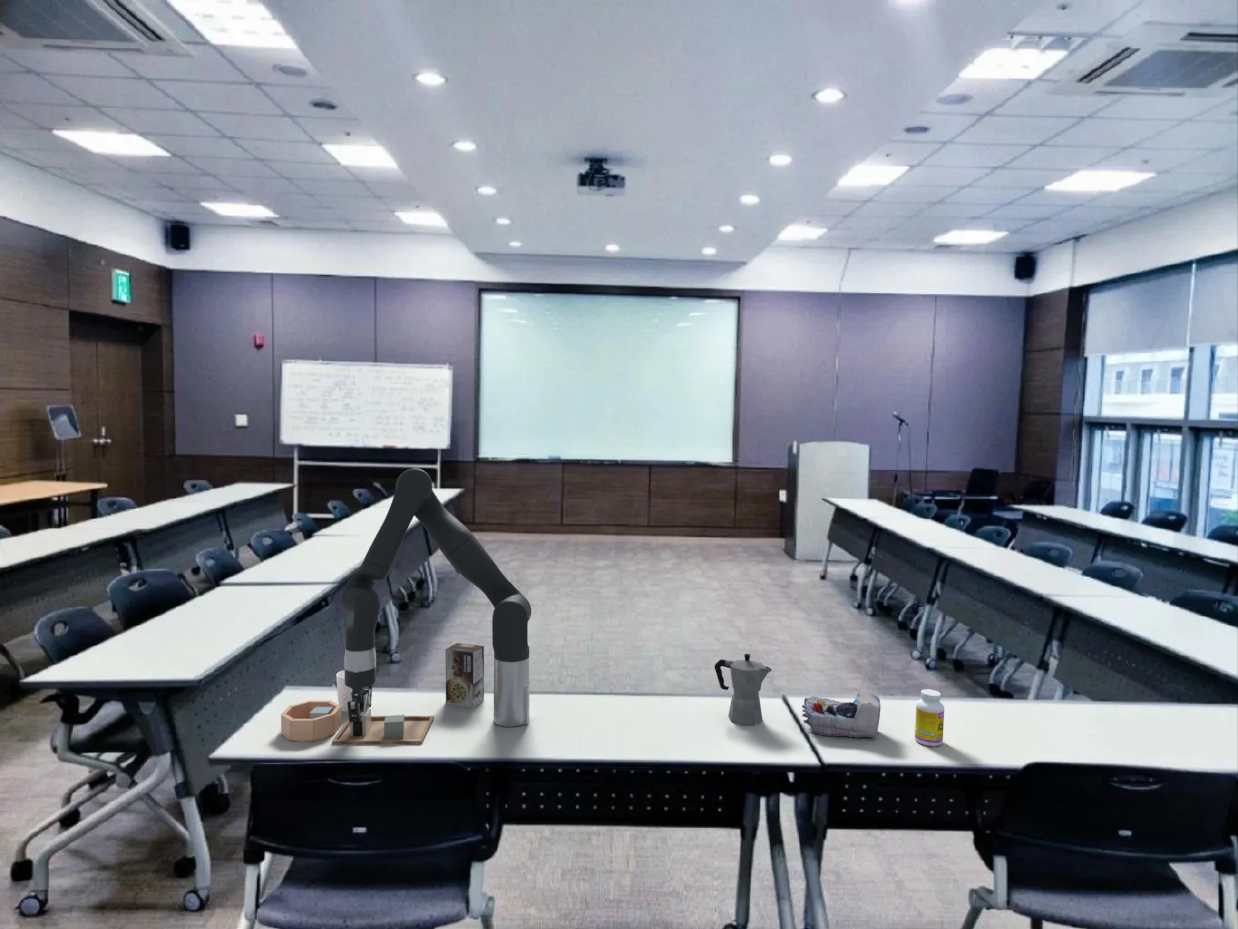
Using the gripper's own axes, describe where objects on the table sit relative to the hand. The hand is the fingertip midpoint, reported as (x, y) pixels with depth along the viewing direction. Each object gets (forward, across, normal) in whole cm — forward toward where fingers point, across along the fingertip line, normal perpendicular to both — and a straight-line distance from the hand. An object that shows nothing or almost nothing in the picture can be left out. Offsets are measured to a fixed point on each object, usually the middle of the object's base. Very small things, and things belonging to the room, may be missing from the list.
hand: (360, 731), depth 193 cm
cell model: (+1, -2, +124) cm, 124 cm away
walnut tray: (+1, 0, +6) cm, 6 cm away
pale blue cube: (0, -1, -10) cm, 10 cm away
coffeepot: (+1, -10, +99) cm, 99 cm away
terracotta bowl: (+1, -1, -12) cm, 13 cm away
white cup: (+1, -16, -7) cm, 18 cm away
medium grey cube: (0, +2, +9) cm, 9 cm away
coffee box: (+1, -20, +23) cm, 31 cm away
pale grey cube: (0, 0, 0) cm, 0 cm away
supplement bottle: (+1, +6, +144) cm, 144 cm away
